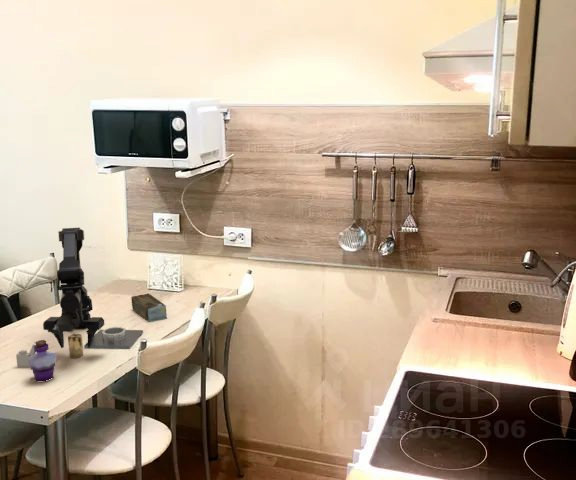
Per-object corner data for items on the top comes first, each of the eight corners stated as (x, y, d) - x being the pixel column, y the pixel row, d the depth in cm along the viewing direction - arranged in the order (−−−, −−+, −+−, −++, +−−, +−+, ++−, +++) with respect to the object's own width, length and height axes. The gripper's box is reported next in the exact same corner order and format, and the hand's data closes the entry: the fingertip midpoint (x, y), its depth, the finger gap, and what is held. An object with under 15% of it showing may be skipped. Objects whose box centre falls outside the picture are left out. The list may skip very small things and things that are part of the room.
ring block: (84, 348, 217) (83, 338, 216) (100, 332, 232) (100, 323, 232) (129, 348, 216) (129, 339, 215) (143, 332, 231) (142, 323, 231)
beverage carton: (148, 323, 242) (147, 306, 241) (131, 310, 258) (130, 295, 257) (167, 319, 247) (166, 303, 245) (149, 307, 262) (148, 292, 261)
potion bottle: (35, 372, 197) (31, 336, 194) (63, 372, 197) (59, 336, 194) (24, 384, 188) (20, 346, 186) (53, 384, 188) (49, 346, 186)
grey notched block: (17, 367, 201) (14, 343, 199) (19, 365, 203) (17, 341, 201) (39, 367, 201) (36, 343, 199) (41, 365, 203) (39, 341, 201)
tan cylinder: (67, 358, 208) (65, 338, 207) (72, 353, 212) (71, 333, 211) (80, 358, 208) (78, 338, 206) (85, 353, 212) (83, 334, 211)
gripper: (33, 310, 199) (37, 356, 202) (91, 311, 198) (94, 357, 201) (48, 300, 210) (52, 344, 213) (103, 300, 209) (106, 344, 212)
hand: (75, 347), depth 209 cm, fingers open, 9 cm apart
